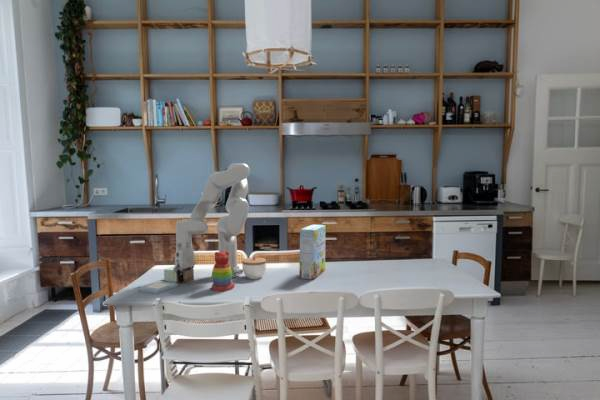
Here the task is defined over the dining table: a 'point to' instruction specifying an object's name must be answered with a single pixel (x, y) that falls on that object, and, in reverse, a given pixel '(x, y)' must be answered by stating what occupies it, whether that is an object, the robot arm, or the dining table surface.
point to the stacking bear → (222, 273)
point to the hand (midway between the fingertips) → (185, 280)
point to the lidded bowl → (254, 267)
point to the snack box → (312, 251)
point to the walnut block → (187, 276)
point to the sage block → (169, 274)
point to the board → (157, 287)
